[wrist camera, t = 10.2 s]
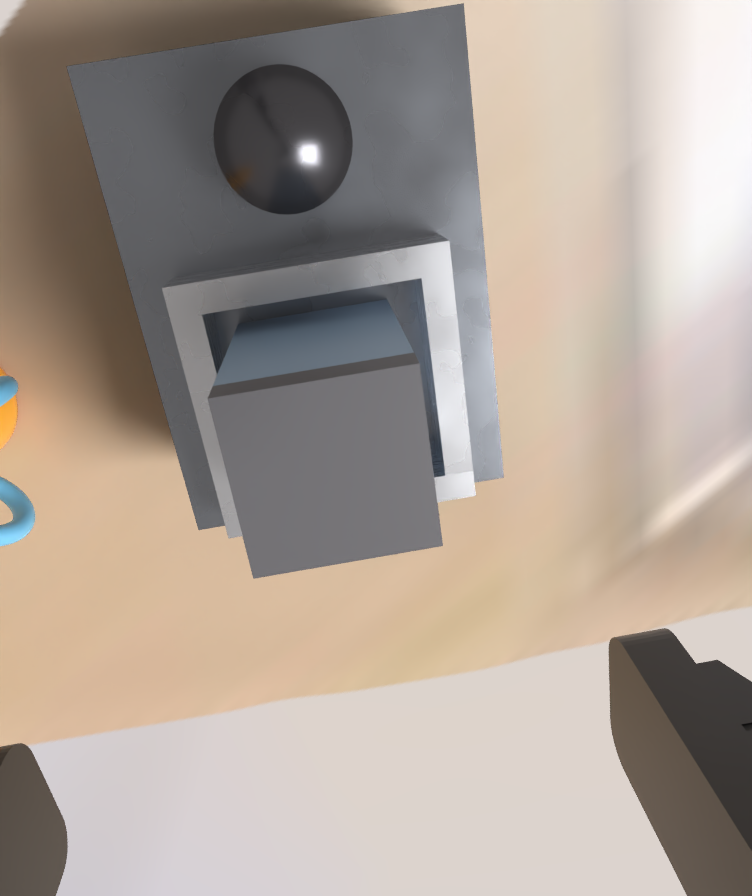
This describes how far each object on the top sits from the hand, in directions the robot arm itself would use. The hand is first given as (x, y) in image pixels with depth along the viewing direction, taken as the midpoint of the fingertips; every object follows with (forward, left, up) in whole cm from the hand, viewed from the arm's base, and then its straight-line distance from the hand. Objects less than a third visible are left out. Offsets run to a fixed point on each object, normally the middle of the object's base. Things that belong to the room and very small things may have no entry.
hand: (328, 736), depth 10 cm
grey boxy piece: (-3, 0, -24) cm, 24 cm away
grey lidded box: (0, 0, -17) cm, 17 cm away
